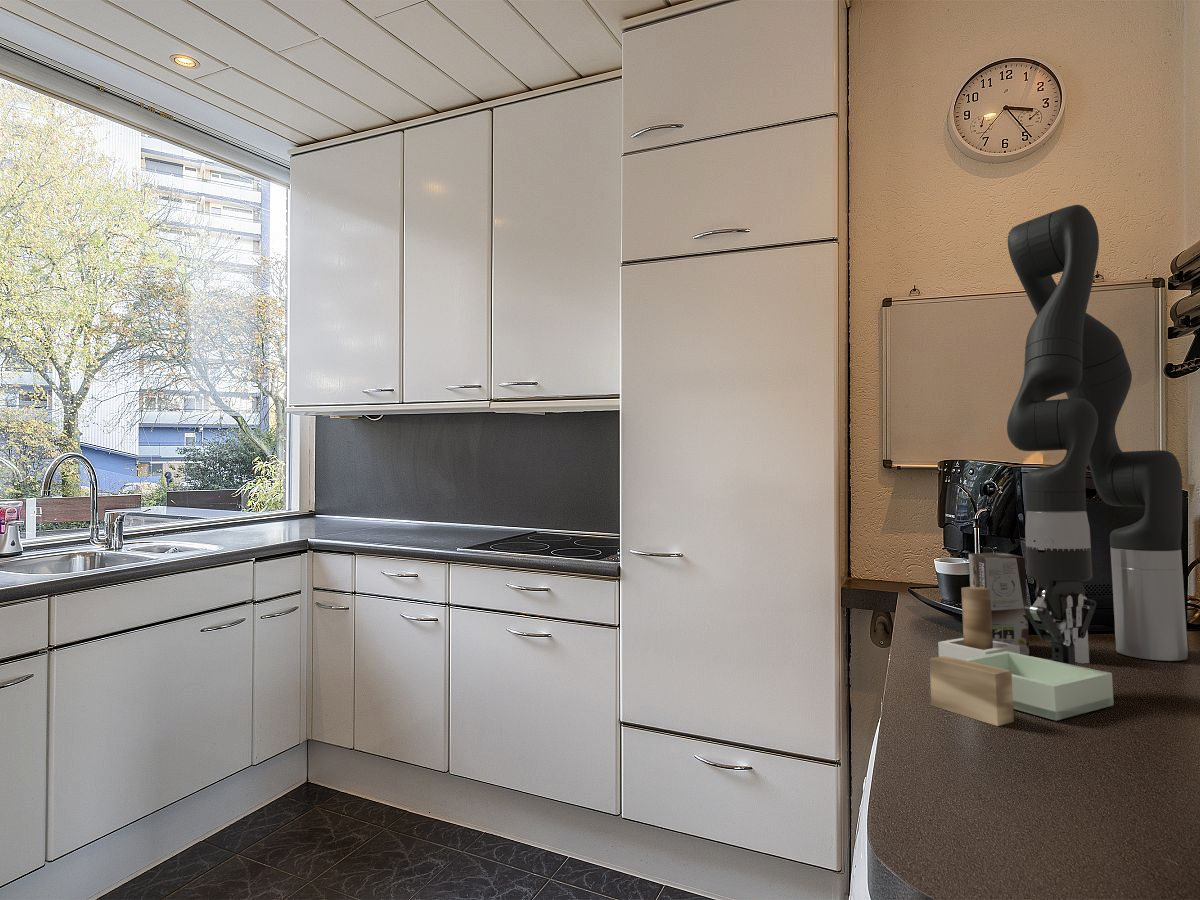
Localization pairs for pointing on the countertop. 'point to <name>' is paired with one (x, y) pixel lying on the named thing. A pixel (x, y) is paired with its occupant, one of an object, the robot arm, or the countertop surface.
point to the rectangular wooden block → (972, 689)
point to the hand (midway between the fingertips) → (1064, 671)
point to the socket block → (972, 649)
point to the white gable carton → (1082, 650)
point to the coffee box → (1003, 595)
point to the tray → (1052, 685)
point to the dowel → (977, 617)
